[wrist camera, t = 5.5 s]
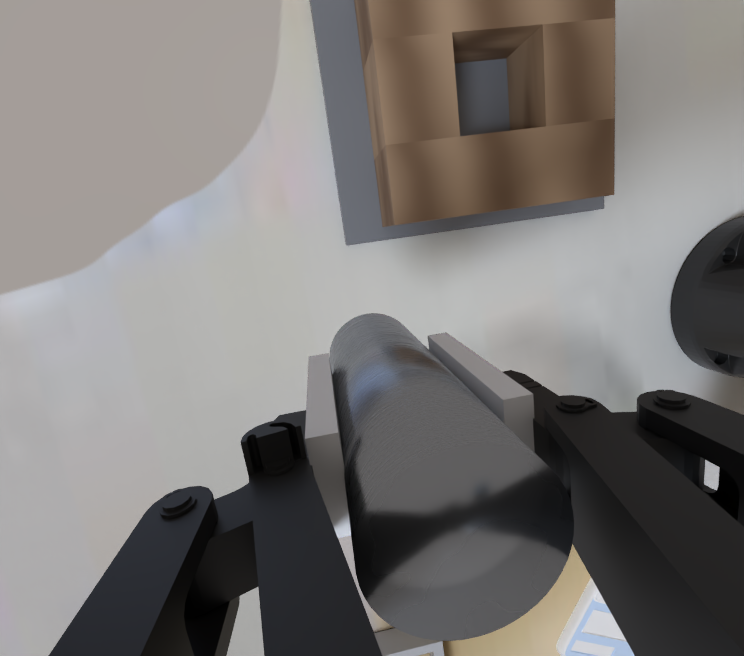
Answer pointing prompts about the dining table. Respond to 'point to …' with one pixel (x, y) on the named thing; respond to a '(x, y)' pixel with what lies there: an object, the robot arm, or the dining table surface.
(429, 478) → the peg
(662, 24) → the dining table surface
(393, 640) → the parts tray
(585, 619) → the calculator
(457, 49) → the socket
